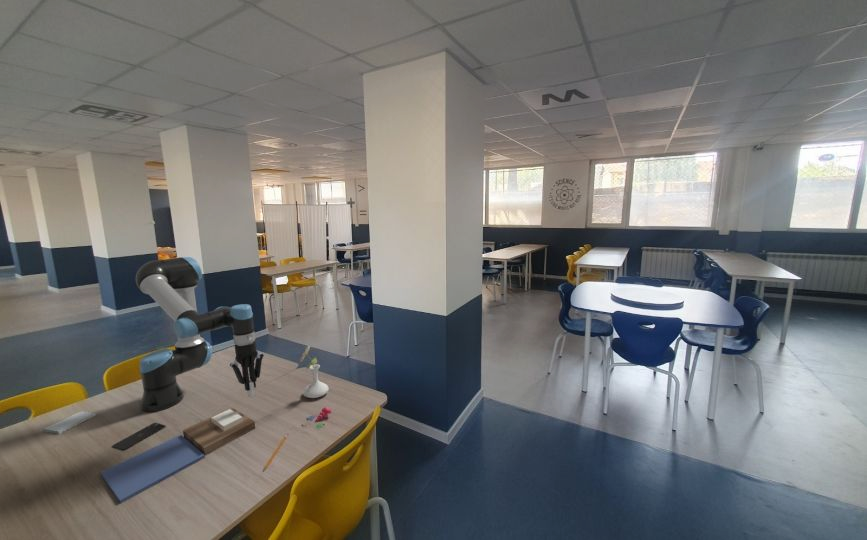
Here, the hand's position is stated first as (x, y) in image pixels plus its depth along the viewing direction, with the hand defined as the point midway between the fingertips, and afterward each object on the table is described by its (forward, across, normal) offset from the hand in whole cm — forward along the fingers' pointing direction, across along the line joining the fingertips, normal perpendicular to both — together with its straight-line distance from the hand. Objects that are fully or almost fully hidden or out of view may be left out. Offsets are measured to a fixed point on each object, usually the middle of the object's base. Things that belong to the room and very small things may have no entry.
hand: (251, 396), depth 140 cm
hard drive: (+9, -44, +60) cm, 75 cm away
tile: (+6, -10, 0) cm, 12 cm away
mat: (+9, -34, 0) cm, 35 cm away
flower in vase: (+10, +25, -8) cm, 28 cm away
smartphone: (+9, -31, +24) cm, 41 cm away
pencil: (+10, -7, -28) cm, 31 cm away
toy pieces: (+10, +12, -25) cm, 29 cm away
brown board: (+9, -13, 0) cm, 16 cm away
